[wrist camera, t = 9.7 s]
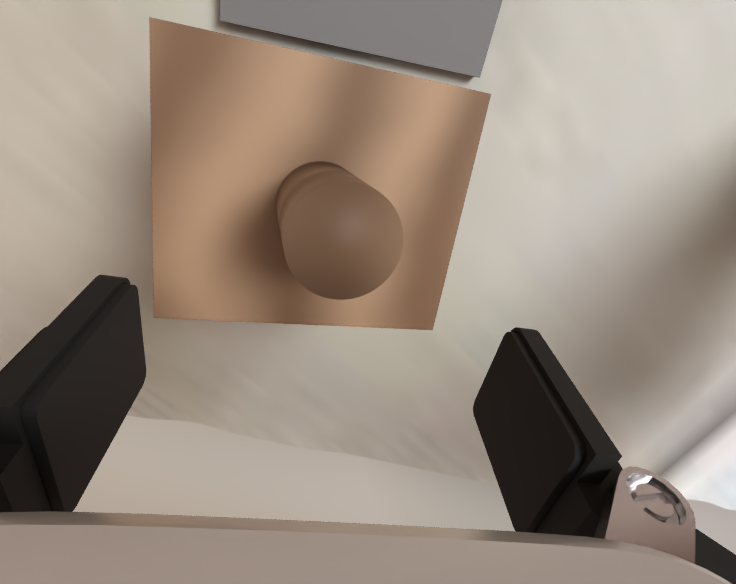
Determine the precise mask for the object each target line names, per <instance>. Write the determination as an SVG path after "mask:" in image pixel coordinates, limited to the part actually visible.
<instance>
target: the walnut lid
mask: <svg viewBox="0 0 736 584" xmlns="http://www.w3.org/2000/svg"><path fill="white" fill-rule="evenodd" d="M149 23H150V92H151V162H152V231H153V300H154V318H172V319H195V320H217V321H239V322H262V323H284V324H307V325H329V326H351V327H374V328H396V329H419V330H433V326H434V322H435V318H436V314H437V310H438V306H439V302H440V298H441V294H442V290H443V286H444V282H445V278H446V273H447V269H448V265H449V261H450V257H451V253H452V249H453V245H454V241H455V237H456V233H457V229H458V225H459V221H460V217H461V213H462V209H463V205H464V201H465V197H466V193H467V189H468V185H469V181H470V177H471V173H472V169H473V165H474V161H475V157H476V153H477V149H478V144H479V140H480V136H481V132H482V128H483V124H484V120H485V116H486V112H487V108H488V104H489V100H490V96H491V94H488V93H484V92H479V91H475V90H470V89H466V88H461V87H457V86H452V85H448V84H444V83H439V82H435V81H430V80H426V79H421V78H417V77H413V76H408V75H404V74H399V73H395V72H390V71H386V70H381V69H377V68H373V67H368V66H364V65H359V64H355V63H350V62H346V61H342V60H337V59H333V58H328V57H324V56H319V55H315V54H310V53H306V52H302V51H297V50H293V49H288V48H284V47H279V46H275V45H271V44H266V43H262V42H257V41H253V40H248V39H244V38H240V37H235V36H231V35H226V34H222V33H217V32H213V31H208V30H204V29H200V28H195V27H191V26H186V25H182V24H177V23H173V22H169V21H164V20H160V19H155V18H151V17H149Z"/></svg>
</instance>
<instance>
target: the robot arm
mask: <svg viewBox="0 0 736 584" xmlns="http://www.w3.org/2000/svg"><path fill="white" fill-rule="evenodd" d="M145 377H146V364H145V355H144V345H143V335H142V326H141V316H140V307H139V297H138V289H137V287H136V286H135V285H130V282H129V280H128V279H127V278H122V277H114V276H107V275H99V276H97V277H96V278H95V279H94V280H93V281H92V282H91V283H90V284H89V285H88V286H87V287H86V288H85V289H84V290H83V291H82V292H81V293H80V294H79V295H78V296H77V297H76V298H75V299H74V300H73V301H72V302H71V303H70V304H69V305H68V306H67V307H66V308H65V309H64V310H63V311H62V312H61V314H60V315H59V316H58V317H57V318H56V319H55V320H54V321H53V322H52V323H51V324H50V325H49V326H48V327H45V328H44V329H42V330H41V331H40V332H39V333H38V334H37V335H36V336H35V337H34V338H33V339H32V340H31V341H30V342H29V343H28V344H27V345H26V346H25V347H24V348H23V349H22V350H21V351H20V352H19V353H18V354H17V355H16V356H15V357H14V358H13V359H12V360H11V361H10V362H9V363H8V364H7V365H6V366H5V367H4V368H3V369H2V370H1V371H0V584H736V555H735V554H733V553H732V552H730V551H729V550H727V549H726V548H724V547H723V546H721V545H720V544H718V543H717V542H715V541H714V540H712V539H711V538H709V537H708V536H706V535H705V534H703V533H702V532H700V531H699V530H697V529H695V517H694V512H693V510H692V509H691V507H690V505H689V503H688V502H687V500H686V499H685V498H684V497H683V495H682V494H681V493H680V492H679V491H678V490H677V489H676V488H675V487H674V486H673V485H671V484H670V483H669V482H668V481H666V480H665V479H663V478H662V477H660V476H659V475H657V474H655V473H653V472H651V471H649V470H646V469H642V468H639V467H627V468H625V469H622V467H621V466H620V464H619V463H618V461H619V459H620V458H621V457H622V456H621V454H620V453H619V451H618V450H617V448H616V447H615V445H614V444H613V442H612V441H611V439H610V438H609V436H608V435H607V433H606V432H605V430H604V429H603V427H602V426H601V424H600V423H599V421H598V420H597V418H596V417H595V415H594V414H593V412H592V411H591V409H590V408H589V406H588V405H587V403H586V402H585V400H584V399H583V397H582V396H581V394H580V393H579V391H578V390H577V388H576V387H575V385H574V384H573V382H572V381H571V379H570V378H569V376H568V375H567V373H566V372H565V370H564V369H563V367H562V366H561V364H560V363H559V361H558V360H557V358H556V357H555V355H554V354H553V353H552V351H551V350H550V348H549V347H548V345H547V344H546V342H545V341H544V339H543V338H542V336H541V335H540V333H539V332H538V331H537V330H532V329H524V328H517V327H516V328H514V329H512V330H511V332H507V333H506V334H505V335H504V337H503V339H502V341H501V344H500V346H499V348H498V350H497V353H496V355H495V357H494V359H493V361H492V364H491V366H490V368H489V370H488V373H487V375H486V377H485V379H484V381H483V384H482V386H481V388H480V390H479V393H478V395H477V397H476V399H475V402H474V406H473V413H474V417H475V420H476V423H477V425H478V428H479V431H480V434H481V437H482V439H483V442H484V445H485V448H486V451H487V454H488V456H489V459H490V462H491V465H492V468H493V471H494V473H495V476H496V479H497V482H498V485H499V487H500V490H501V493H502V496H503V498H504V502H505V504H506V507H507V510H508V513H509V516H510V518H511V521H512V524H513V527H514V529H515V531H516V532H513V531H495V530H494V531H493V530H476V529H456V528H439V527H420V526H401V525H400V526H399V525H381V524H360V523H359V524H358V523H339V522H317V521H297V520H276V519H253V518H229V517H206V516H183V515H158V514H131V513H94V512H92V513H90V512H72V511H73V510H74V509H75V507H76V506H77V504H78V502H79V500H80V498H81V497H82V494H83V493H84V491H85V489H86V487H87V486H88V484H89V482H90V480H91V478H92V476H93V475H94V473H95V471H96V469H97V468H98V466H99V464H100V462H101V460H102V458H103V457H104V455H105V453H106V451H107V449H108V448H109V446H110V444H111V442H112V440H113V438H114V437H115V435H116V433H117V431H118V429H119V428H120V426H121V424H122V422H123V420H124V418H125V417H126V415H127V413H128V411H129V409H130V408H131V406H132V404H133V402H134V400H135V399H136V397H137V395H138V393H139V391H140V389H141V388H142V386H143V384H144V381H145Z"/></svg>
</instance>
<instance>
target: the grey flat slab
mask: <svg viewBox="0 0 736 584" xmlns="http://www.w3.org/2000/svg"><path fill="white" fill-rule="evenodd" d="M501 3H502V0H220V21H224V22H229V23H233V24H238V25H243V26H247V27H252V28H256V29H261V30H265V31H270V32H274V33H279V34H284V35H288V36H293V37H297V38H302V39H306V40H311V41H315V42H320V43H324V44H329V45H334V46H338V47H343V48H347V49H352V50H356V51H361V52H365V53H370V54H375V55H379V56H384V57H388V58H393V59H397V60H402V61H406V62H411V63H416V64H420V65H425V66H429V67H434V68H438V69H443V70H447V71H452V72H456V73H461V74H466V75H470V76H475V77H479V78H480V75H481V71H482V68H483V65H484V61H485V58H486V54H487V51H488V48H489V44H490V41H491V37H492V34H493V31H494V27H495V24H496V20H497V17H498V13H499V10H500V7H501Z"/></svg>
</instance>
